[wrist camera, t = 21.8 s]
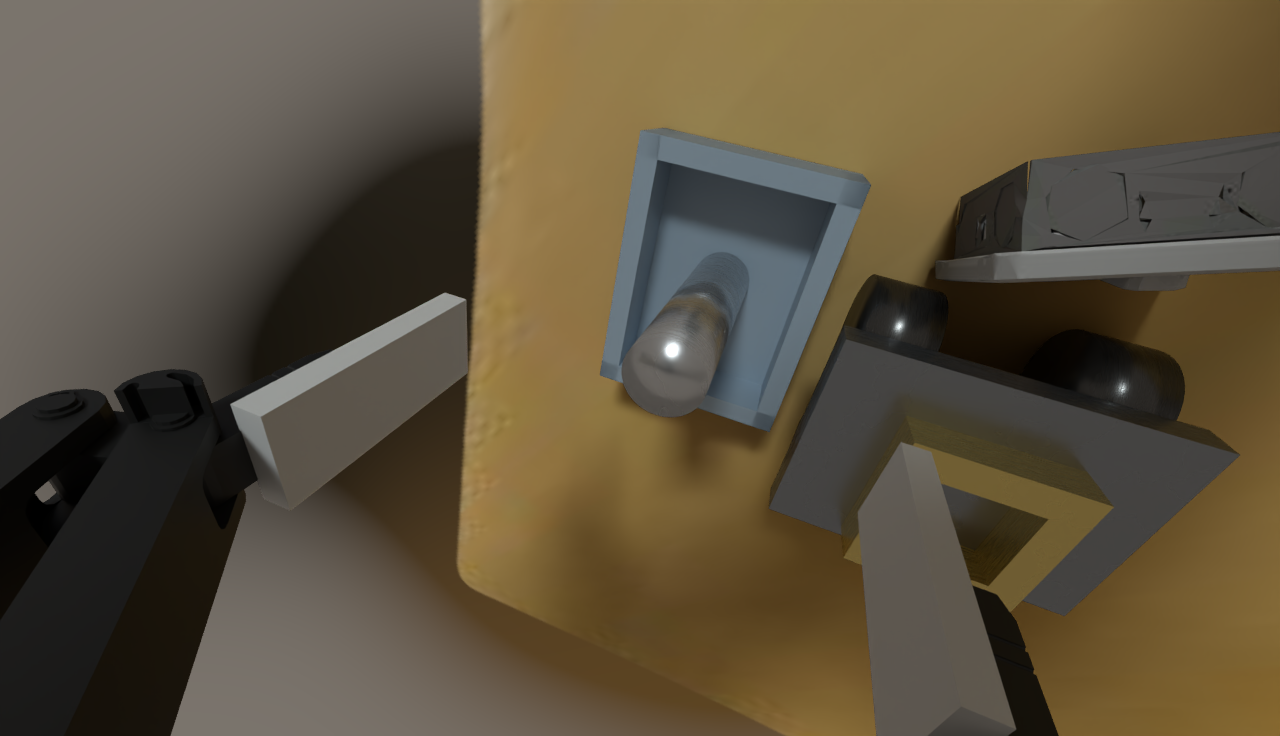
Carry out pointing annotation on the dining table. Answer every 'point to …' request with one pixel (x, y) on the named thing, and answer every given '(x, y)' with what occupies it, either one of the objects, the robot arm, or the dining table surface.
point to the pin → (686, 339)
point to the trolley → (1001, 445)
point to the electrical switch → (1126, 217)
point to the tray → (743, 226)
